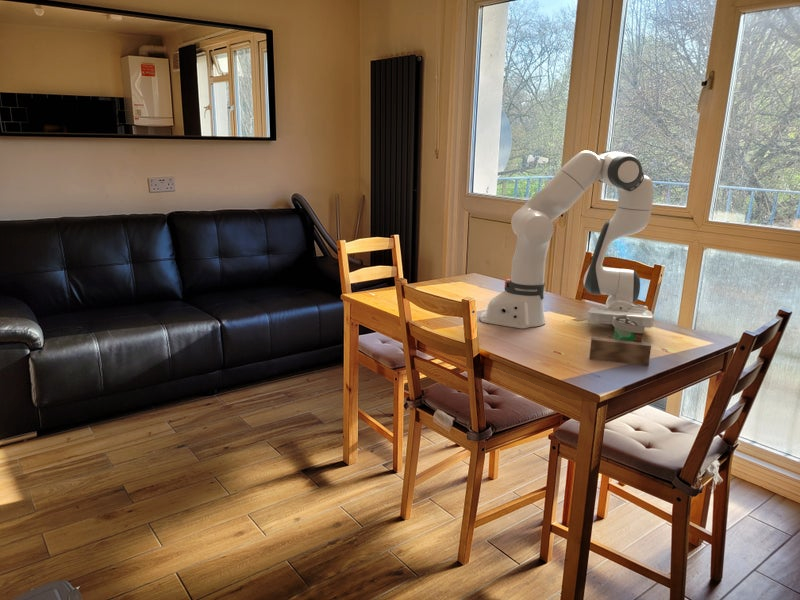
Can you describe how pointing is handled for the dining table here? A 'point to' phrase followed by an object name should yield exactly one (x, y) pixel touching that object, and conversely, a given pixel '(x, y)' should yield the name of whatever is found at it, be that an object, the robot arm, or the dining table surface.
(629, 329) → the food container
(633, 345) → the walnut bar
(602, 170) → the robot arm
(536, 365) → the dining table surface
